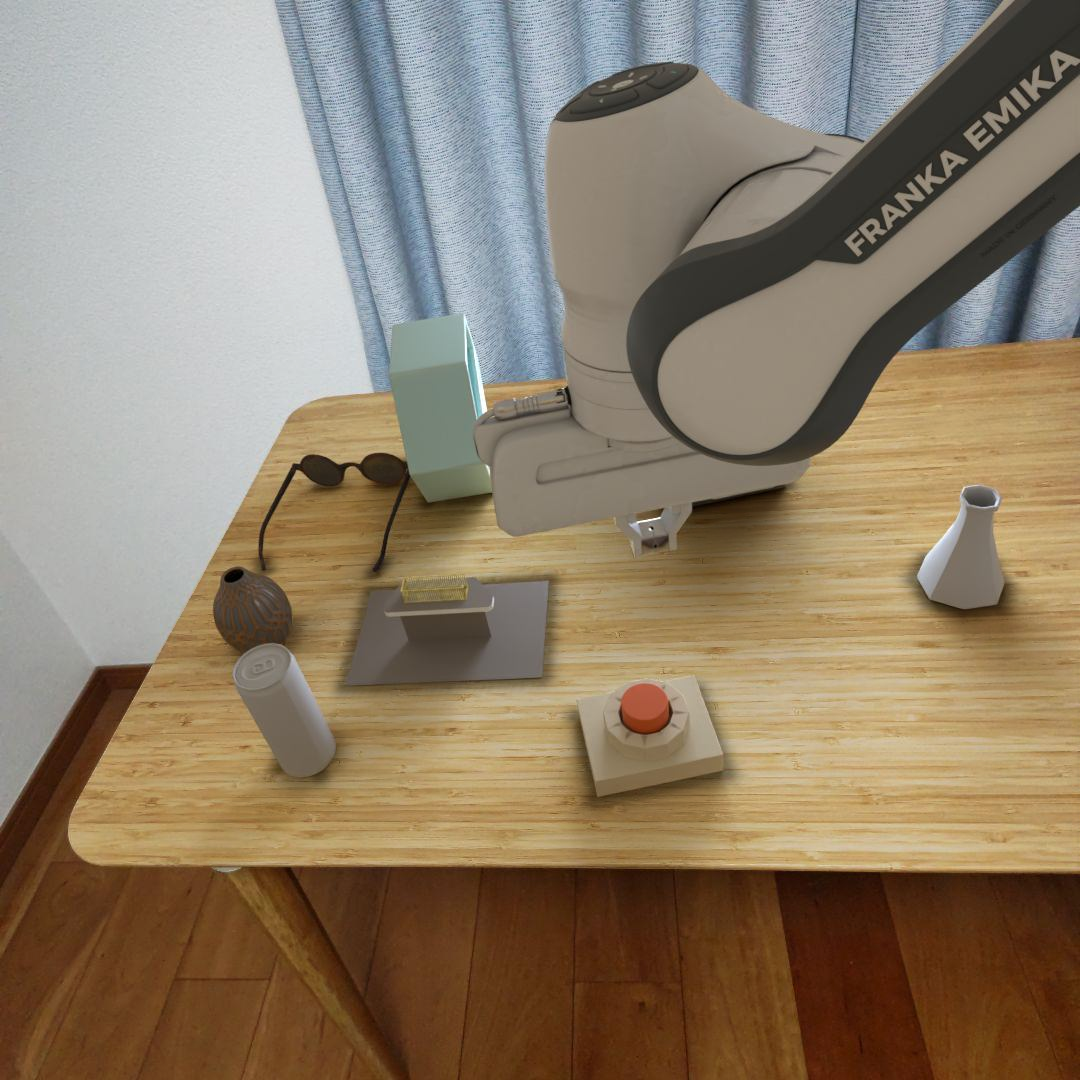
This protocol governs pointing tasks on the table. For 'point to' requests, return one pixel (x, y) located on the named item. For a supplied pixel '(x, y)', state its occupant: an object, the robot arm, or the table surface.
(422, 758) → the table surface
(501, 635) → the platform
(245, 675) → the beverage can
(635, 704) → the button
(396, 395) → the planter
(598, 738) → the block
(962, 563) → the flask
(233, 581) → the vase
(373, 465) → the eyeglasses
